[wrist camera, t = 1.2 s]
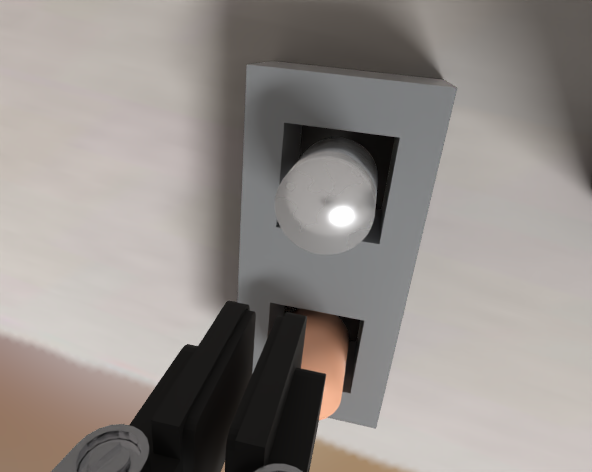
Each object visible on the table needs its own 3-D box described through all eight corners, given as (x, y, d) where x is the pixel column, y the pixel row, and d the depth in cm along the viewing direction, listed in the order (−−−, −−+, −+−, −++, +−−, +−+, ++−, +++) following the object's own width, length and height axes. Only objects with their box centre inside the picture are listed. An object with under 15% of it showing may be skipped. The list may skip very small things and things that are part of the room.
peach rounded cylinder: (354, 314, 30) (346, 368, 25) (344, 369, 32) (335, 429, 27) (284, 301, 30) (263, 350, 25) (279, 356, 32) (259, 411, 28)
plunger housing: (443, 79, 27) (457, 87, 21) (378, 372, 37) (375, 428, 31) (274, 60, 28) (246, 64, 23) (255, 347, 38) (233, 396, 33)
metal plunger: (385, 143, 25) (383, 167, 20) (370, 222, 27) (366, 262, 22) (300, 131, 25) (278, 152, 20) (292, 210, 27) (271, 245, 22)
